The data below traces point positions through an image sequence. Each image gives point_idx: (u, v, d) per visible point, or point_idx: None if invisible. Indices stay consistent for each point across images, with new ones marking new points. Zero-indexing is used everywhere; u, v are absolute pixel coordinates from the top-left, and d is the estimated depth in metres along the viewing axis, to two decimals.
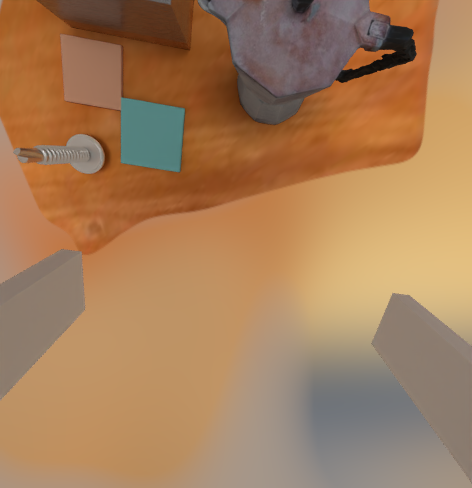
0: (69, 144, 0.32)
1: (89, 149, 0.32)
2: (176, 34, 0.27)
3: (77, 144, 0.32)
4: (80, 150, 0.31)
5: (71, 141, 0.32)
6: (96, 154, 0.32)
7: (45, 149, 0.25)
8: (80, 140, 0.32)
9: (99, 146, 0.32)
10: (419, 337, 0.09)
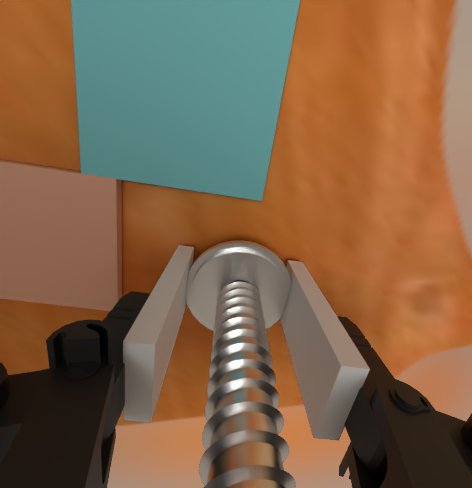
0: (212, 325, 0.12)
1: (224, 278, 0.11)
2: None
3: (211, 306, 0.11)
4: (226, 305, 0.09)
5: (204, 319, 0.11)
6: (238, 262, 0.10)
7: None
8: (200, 297, 0.11)
9: (215, 250, 0.11)
10: (294, 292, 0.11)
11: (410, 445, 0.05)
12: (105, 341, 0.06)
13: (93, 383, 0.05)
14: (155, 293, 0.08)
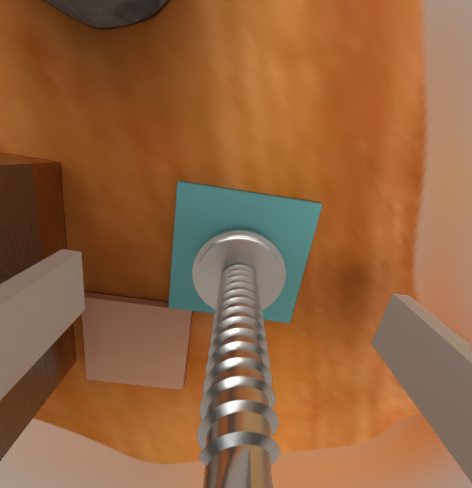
0: (216, 304, 0.13)
1: (226, 262, 0.12)
2: None
3: (215, 287, 0.13)
4: (227, 282, 0.11)
5: (209, 299, 0.13)
6: (238, 247, 0.12)
7: (213, 419, 0.05)
8: (206, 279, 0.13)
9: (219, 238, 0.12)
10: (419, 337, 0.09)
11: None
12: None
13: None
14: None
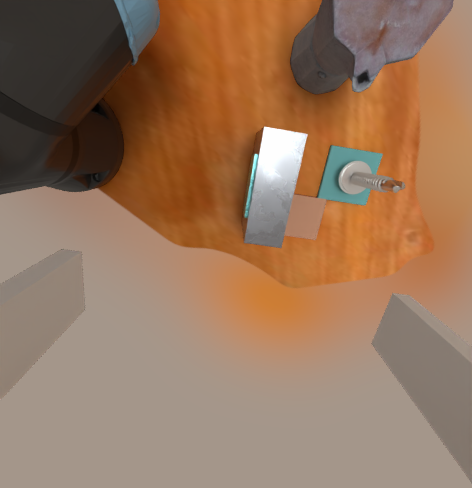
0: (346, 188, 0.38)
1: (353, 172, 0.37)
2: None
3: (347, 181, 0.37)
4: (359, 174, 0.35)
5: (344, 186, 0.38)
6: (358, 166, 0.36)
7: (382, 179, 0.30)
8: (345, 178, 0.37)
9: (350, 163, 0.37)
10: (419, 337, 0.09)
11: None
12: None
13: None
14: None
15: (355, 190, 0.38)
